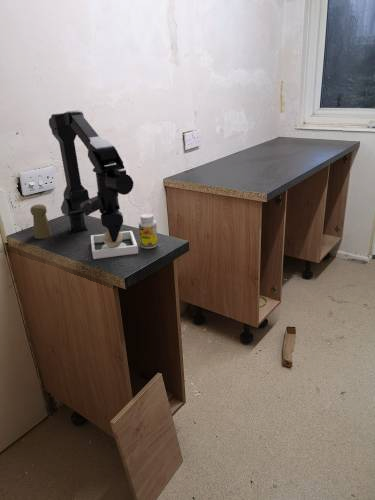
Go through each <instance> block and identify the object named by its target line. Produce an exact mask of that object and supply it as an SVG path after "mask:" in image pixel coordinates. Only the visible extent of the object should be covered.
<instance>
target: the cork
mask: <svg viewBox="0 0 375 500" xmlns="http://www.w3.org/2000/svg"><path fill="white" fill-rule="evenodd" d="M47 212H48V210H47V207H46V206H45V205H44V204H41V203H40V204H33V205H31V207H30V214H31V215H32V216H33V217H32V218H33V220H32V221H33V237H34V239H36V240H37V239H38V240H43V239H48V238H50V237H52V236H53V232H52V230H51V226H50V223H49V220H48V217H47Z"/></svg>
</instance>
